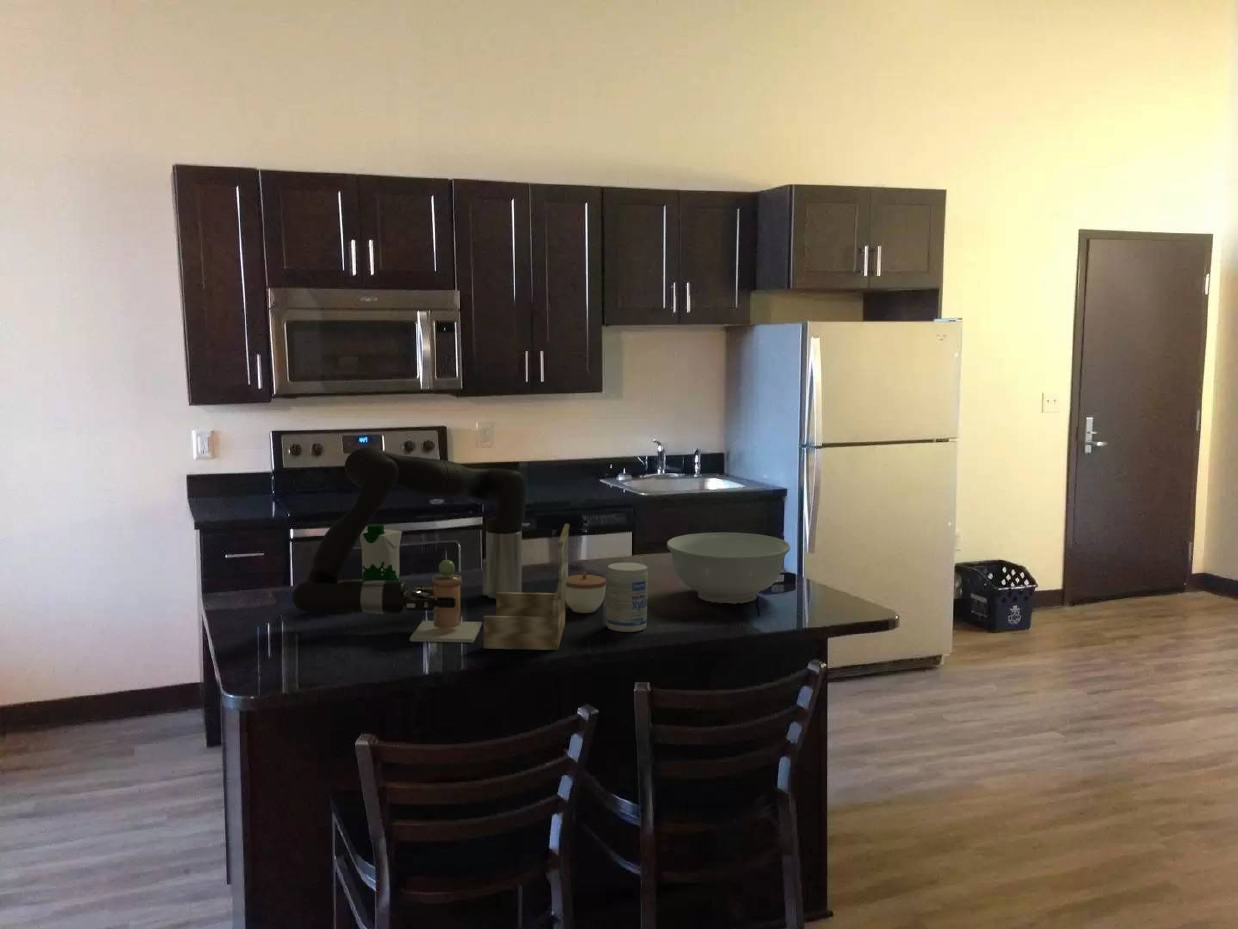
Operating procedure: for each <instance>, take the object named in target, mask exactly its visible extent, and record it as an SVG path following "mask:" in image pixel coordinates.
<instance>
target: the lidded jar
mask: <svg viewBox="0 0 1238 929" xmlns="http://www.w3.org/2000/svg"><path fill="white" fill-rule="evenodd" d="M606 586H607V578H605V577H603V576H600V575H595V574H587V572H582V574H576V575H574V574H573V575H568V579H567V583H566V586H565V603H566V604H567V606H568V607H569V608H570V609H571V611H572V612H574V613H581V614H589V613H594V612H596V611H597V609H598V608H599V607H600V606H602V603H603V602H604V601H605V595H606Z"/></svg>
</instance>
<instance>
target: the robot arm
mask: <svg viewBox="0 0 1238 929" xmlns="http://www.w3.org/2000/svg"><path fill="white" fill-rule="evenodd" d="M344 471H345V474H346V476H347V477H348V479H349V480H350V481H351V482H352V483H353V484H354V485H355V486H357V487H358V488H360V489H361V490H360V492H359V494H358V497H357V500H356V501H355V503H354V504H353V506H352V507H351V508H350V509H349V511H348V512H347V513H345V514H344V515H343V516H342V517H340V519H338V520H337V521H336V522H334V523H333V524H332V525H331V527H329V529H327V531H326V533H325V534H324V536H323V537H322V539H321V542H320V543H319V544H318V545H319V546H318V547H317V550H316V551H315V554H314V556H313V558H312V568H311V570H310V572H309V575H308V577H307V579H306V580H305V581H302V582H301V583H300V584H298V585H297V586H296V587H295V588H294V590H293V592H292V598H291V599H292V602H293V605H294V606H295V607H296V608H297V610H299V611H301V612H304V613H311V614H313V613H315V614H317V613H321V614H322V613H333V612H350V613H368V614H381V615H382V614H383V615H403V614H405V612H413V611H414V612H424V611H427V612H429V611H430V612H432V611H434V609H437V608H438V607H440V608H454V607H455V606H456V599H455V598H454V597H439V599H438V597H435V596H434V592H433V586H432V585H431V586H429V585H418V586H417V587H414V589H413V588H412V589H409V588H408V584H407V582H406V581H404V580H399V581H383V580H373V581H362V580H344V581H341V582H339V580H340V575H341V573H342V570H343V569H344V567H345V565H346V563H347V562H348V560H349V557H350V555H351V553H352V551H353V549H354V547H355V545H356V544H357V541H358V540H359V539H360V535H361V533H362V532H364V531H365V529H366V528H367V525H369V524H370V521H372V519H373V518H374V516H375V515H376V513H377V512H378V511H379V509H380V507H381V506H382V504H383V503H384V502H385V501H386V499H387V498H388V497H389V495H390V494H391V492H392V490H393V489H394V487H395V486H397V487H399V488H402V489H405V490H407V491H410V492H412V493H416V494H419V495H421V496H425V497H430V498H438V499H457V498H458V499H459V498H462V497H463V498H464V497H468V498H471V499H477V500H479V501H484V502H487V503H491V504H492V505H493V504H495V505H498V508H497V509H498V511H497V514H496V515H495V516H494V517H490V518H488V519H487V520H486V521H485V522H486V523H485V535H486V536H485V547H486V548H485V558H484V559H483V560H482V595H483V596H485V595H487V596H488V597H487V596H486V597H487V598H489V597H490V598H489V599H492V598H494V599H493V600H497V592H516V593H522V586H523V585H522V581H523V580H522V577H523V576H522V569H523V568H522V565H523V564H522V562H523V561H522V557H523V556H522V552H523V549H522V546H523V544H522V543H523V542H522V539H523V537H522V532H523V531H522V530H523V528H522V527H523V523H524V520H525V516H526V515H525V514H526V501H527V486H526V485H527V484H526V479H525V478H524V475H523V474H522V473H521V472H519V471H518V470H515V469H513V470H512V469H505V468H496V467H495V468H473V467H467V466H464V465H463V464H460V463H458V462H454V461H450V460H444V459H438V458H437V459H436V458H428V457H420V456H412V455H411V456H409V455H400V454H396V453H392V452H387V451H384V450H381V449H377V448H374V447H370V446H369V447H368V446H367V447H366V446H365V447H361V448H358V449H355V450H353V451H352V452H351V453H350V454H349V455H348V456H347V457H346V459H345V461H344ZM461 594H462V593H461V591H460V599H461Z"/></svg>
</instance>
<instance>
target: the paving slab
mask: <svg viewBox="0 0 1238 929" xmlns="http://www.w3.org/2000/svg"><path fill="white" fill-rule="evenodd" d="M481 626H482V627H483V622H482V621H460V625H459V626H457V627H454V628H438V627H435V626H434V620H422V621H421V622H420V623H419V625H418V626H417V628H416V629H415V631H414V632H413V633H412V634H411V635H410V636H409V642H422V643H423V642H424V643H427V642H428V643H429V642H430V643H474V641H475V639H476V637H477V636H478V634H479V632H480V630H481V629H482V627H481ZM480 628H481V629H480Z"/></svg>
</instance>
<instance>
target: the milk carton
mask: <svg viewBox="0 0 1238 929" xmlns="http://www.w3.org/2000/svg"><path fill="white" fill-rule="evenodd" d="M384 527H385V526H384V524H382V523H371V524H370V523H368V525H367V526H366V528H367V530H366V531H365V530H364V531H363V532H362V533H361V535H360V537H359V541H360V545H361V561H362V562H361V566H362V567H361V568H362V569H361V572H362V573H361V575H362V577H361V578H362V580H361V581H373V580H383V581H400V544H401V538H402V534H403V531H402V530H394V529H388V528H387V529H385V528H384Z"/></svg>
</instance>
